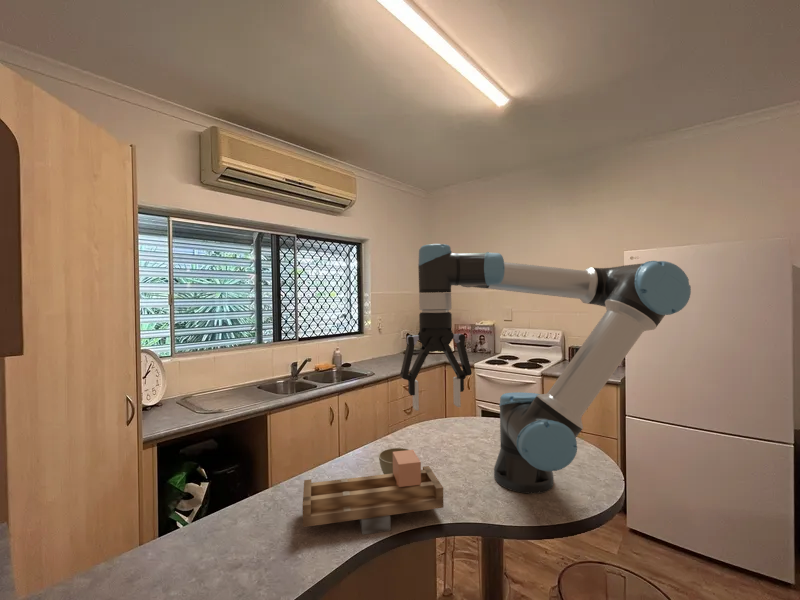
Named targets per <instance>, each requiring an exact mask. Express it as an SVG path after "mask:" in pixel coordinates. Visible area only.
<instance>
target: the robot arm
mask: <svg viewBox="0 0 800 600" xmlns="http://www.w3.org/2000/svg"><path fill="white" fill-rule="evenodd" d="M451 249H452V248H451V246H450V245H449V244H447V243H446V244H445V243H432V244H431V243H429V244H424V245H422V246H420V248H419V249H418V264H417V265H418V267H417V268H418V305H419V307H418V308H419V311H421V312H420V313H418V314H419V315H418V316H419V317H418V318H419V320H418V321H419V323H418V325H419V331H418V334H416V335H409V334H408V335H407V336H406V338H405V340H406V348H405V352H404V357H403V360H402V365H401V369H400V377H401V378H402V379H403V380H406V381H407V382H408V383H407V385H408V390H407V391H408V394H409V395H410V396H412V409H413V410H414V411H420V406H419V405H420V401H419V400H420V396H419V391H420V390H419V386H420V385H419V381H418V380H417V377H418V375H419V373H420V371H421V368H422V367H423V365H424V363H425V360H426V359H427V356H429V354H430V353H434V352H443V353H444V354H445V358H447V360H448V362H449V364H450V366H451V368H452V370H453V372H454V373H455V376H453V377H452V382H453V383H452V390H453V391H452V392H453V394H452V395H453V396H452V397H453V405H454V406H455V407H456V408H461V407H462V406H461V405H462V403H461V393H463V392H464V390H465V379H466V378H467V376H471V375H472V374H473V373H472V368H471V365H470V361H469V357H468V352H467V348H466V345H465V340H466V336H465V334H463V333H454V332H453V330H452V325H453V323H452V322H453V321H452V320H453V318H452V316H453V315H452V313H451V312H450V311H451V310H452V306H453V305H452V286H458V287H459V286H460V287H462V288H478V289H488V290H489V289H490V290H497V291H505V292H506V291H507V292H516V293H525V294H535V295H542V296H551V297H560V298H561V297H562V298H570V299H578V300H580V301H581V303H583V304H587V305H595V306H599V307H605V309H606V311H605V313H604V314H603V316H602V317H601V318H600V319H599V321H598V322H597V324H596V325H595V326H594V328H593V329H592V330H591V332H590V334H589V335H588V336H587V337H586V339H585V340H584V342H583V343H582V344H581V346H580V347H579V349H578V350H577V352H576V353H575V354H574V356H573V357H572V358H571V359H570V361H569V363H568V364H567V366H566V367H565V368H564V370H562V372H561V374H560V375H559V376H558V377H557V379H556V381H555V382H554V384H553V385H552V387H550V389H549V390H548V392H546V393H543V394H541V393H535V392H523V391H522V392H521V391H520V392H518V391H517V392H506V393H503V394H502V395H500V398H499V422H500V423H499V427H500V428H499V429H500V430H499V431H500V434H499V436H500V437H499V438H500V439H499V440H500V449H499V452H498V456H497V458H496V461H495V463H494V469H493V476H494V480H495V481H496V482H497V483H498V484H499V485H501V486H502V487H503V488H505V489H508V490H511V491H513V492H517V493H522V494H542V493H545V492H547V491H550V490H551V489H552V488H553V487H554V483H555V482H554V472H556V471H561V470H563V469H564V468H566V467H568V466H569V465H570V464H571V463H572V462H573V460H575V457H576V455H577V452H578V446H577V444H578V443H577V442H578V441H577V437H578V436H579V434H580V433H581V432H582V430H583V429H584V426H583V421H582V417H583V415H584V414H585V413H586V412H587V410H588V409H589V408H590V406H591V405H592V403H593V402H594V401H595V399H596V398H597V396H598V395H599V394H600V393H601V390H602V389H604V387H605V385H606V384H607V382H608V381H609V380H610V378H611V377H612V376H613V374H614V373H615V371H616V370H617V369H618V367H619V366H620V365H621V363H622V362H623V361H624V359H625V358H626V357H627V355H628V354H629V353H630V351H631V349H633V347H634V345H635V344H636V342H637V341H638V340H639V338H640V337H641V336H642V334H643V333H644V332H647V331H654V330H655V329H657V327H658V326H659V324H660V323H661V322H662V320H663V319H664V317H665V316H669V315H670V316H671V315H673V314H676V313H678V312H680V311H682V310H683V309H684V308H685V307H686V306H687V305H688V302H689V301H690V298H691V293H692V289H691V285H690V282H689V281H690V280H689V278H688V275H687V274H686V272H685V271H684V270H683V269H682V268H681V267H680V266H678V265H677V264H675V263H672V262H669V261H665V260H659V261H658V260H651V261H649V260H647V261H645V262H643V263H636V264H627V265H619V266H612V267H592V266H591V267H587V268H586V269H584V270H583V269H573V268H572V269H571V268H563V267H562V268H561V267H555V266H554V267H553V266H544V265H537V264H536V265H534V264H526V263H525V264H524V263H518V262H517V263H515V262H507V261H505V260H504V259H505V258H504V256H503V254H501V253H499V252H490V251H487V252H471V253H470V252H468V253H466V252H465V253H462V252H461V253H459V252H458V253H457V252H456V253H455V252H453V251H452V250H451ZM418 341H419V342H420V344H421V346H420V349H419V352H418V355H417V357H416V359H415V361H414V363H413V365H412V367H411V363H412V359H413V355H414V351H415V346H416V345H417V342H418ZM452 341H454V343H455V344H456V348H457V353H458V357H459V361H460V364H461V366H460V364H459V362H458V360H457V358H456V356H455V355H454V352H453V350H452V348H451V346H450V344H451V342H452ZM410 368H411V369H410Z"/></svg>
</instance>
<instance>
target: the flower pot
mask: <svg viewBox="0 0 800 600" xmlns="http://www.w3.org/2000/svg"><path fill="white" fill-rule="evenodd" d="M405 450H410V449H409V448H404V447H393V448H387V449H384V450H382V451H380V452H379V454H378V460H379V461H378V462H379V465H380V468H381V471H382V475H383V474H392V473H393V452H395V451H405Z"/></svg>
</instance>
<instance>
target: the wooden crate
mask: <svg viewBox="0 0 800 600" xmlns="http://www.w3.org/2000/svg"><path fill="white" fill-rule="evenodd" d="M303 482H304V483H303V495H302V527H303V528H306V527H313V526H321V525H322V526H323V525H327V524H334V523H336V524H337V523H343V522H349V521H356V520H359V525H360V529H361V534H362V535H369V534H376V533H381V532H389V531H392V530H391V516H393V515H400V514H406V513H407V514H408V513H414V512H421V511H422V512H423V511H429V510H430V511H431V510H436V509H444V487H443V485H442V484H441V481H439V479H438V477H437V476H436V474H435V473H434V471H433V470H432V469H431V467H430V465H428V466H422V469H421V484H420V485H412V486H404V487H399V486H396V479H395V476H394V474H393V473H392V474H383V473H382V474H377V475H376V474H375V475H367V476H359V477H358V476H357V477H351V478H350V477H349V478H347V477H346V478H341V479H334V480H333V479H331V480H323V481H315V482H312V479H304V481H303Z"/></svg>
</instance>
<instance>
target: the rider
mask: <svg viewBox="0 0 800 600" xmlns="http://www.w3.org/2000/svg"><path fill="white" fill-rule="evenodd" d="M421 464H422V461H421V460H420V458H419V457H418V455H417V454H416V452H415V450H414V449H409V450H405V451H395V452H393V474H394V476H395V479H396V486H399V487H404V486H412V485H420V484H421V470H422V465H421Z"/></svg>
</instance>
